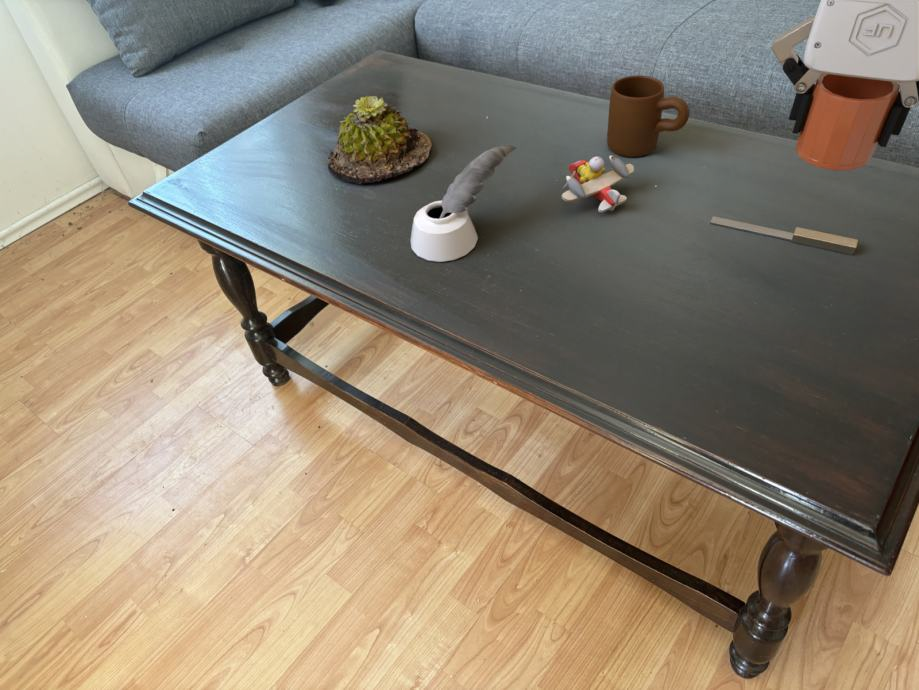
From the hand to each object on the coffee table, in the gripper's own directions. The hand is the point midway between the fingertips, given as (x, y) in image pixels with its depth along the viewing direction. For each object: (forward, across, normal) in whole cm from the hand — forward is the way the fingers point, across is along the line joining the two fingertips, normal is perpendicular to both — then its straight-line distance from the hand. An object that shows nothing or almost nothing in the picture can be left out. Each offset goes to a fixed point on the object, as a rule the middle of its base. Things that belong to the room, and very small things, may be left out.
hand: (840, 131), depth 64 cm
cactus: (+19, -62, +7) cm, 66 cm away
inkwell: (+19, -40, -4) cm, 45 cm away
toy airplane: (+19, -26, +8) cm, 33 cm away
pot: (+2, 0, 0) cm, 2 cm away
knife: (+19, -2, +8) cm, 21 cm away
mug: (+19, -24, +22) cm, 38 cm away
